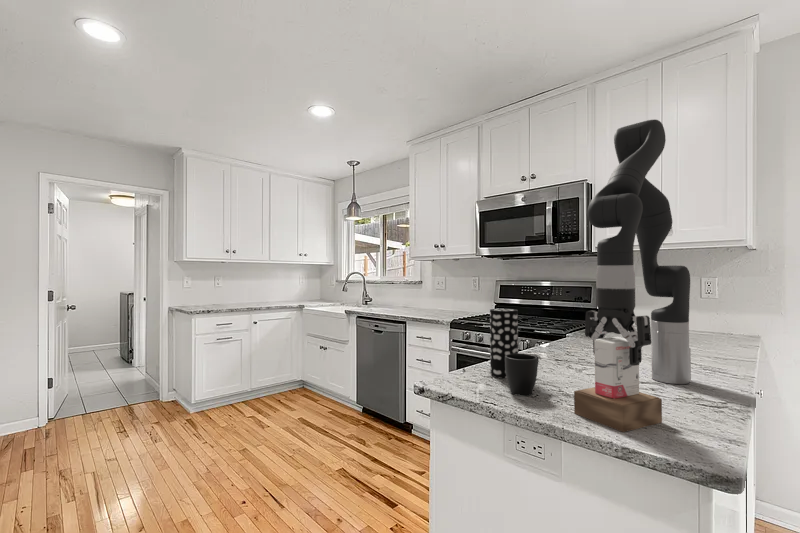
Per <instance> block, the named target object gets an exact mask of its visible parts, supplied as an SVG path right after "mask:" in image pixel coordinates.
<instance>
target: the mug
mask: <svg viewBox="0 0 800 533" xmlns="http://www.w3.org/2000/svg"><path fill="white" fill-rule="evenodd" d="M538 366H539V356H537V354H528V353H518V354H508V355H505V371H506V377H507V379H506V380H507V384H508V387H509V392H510V393H511V394H512V395H515V396H519V397H525V396H531V395H533V394H534V393H533V392H534V388H535V385H536V382H537V376H538V368H539V367H538Z"/></svg>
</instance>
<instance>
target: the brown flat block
mask: <svg viewBox="0 0 800 533" xmlns="http://www.w3.org/2000/svg"><path fill="white" fill-rule="evenodd" d="M573 395H574V396H573V400H574V401H573V402H574V409H573V410H574V413H573V414H575V415H578V416H580V417H583V418H585V419H588V420H590V421H593V422H596V423H598V424H601V425H604V426H606V427H609V428H612V429H614V430H616V431H620V432H622V433H625V432H630V431H634V430H637V429H641V428H645V427H646V428H647V427H651V426H653V425H659V424H662V423H663V406H662V405H663V404H662V402H663V401H662V400H663V399H662V398H661V397H658V396H655V395H651V394H647V393H644V392H641V391H639V394H636V395H631V396H626V397H621V398H616V399H613V398H610V397H606V396H602V395H599V394H596V393H595V386H594V387H589V388H583V389H577V390H574V391H573Z"/></svg>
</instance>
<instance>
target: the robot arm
mask: <svg viewBox="0 0 800 533" xmlns="http://www.w3.org/2000/svg"><path fill="white" fill-rule="evenodd" d="M666 140H667V139H666V131H665V128H664V124H663V123H662V122H661V121H660V120H659V119H648V120H644V121H641V122H640V121H639V122H636V123H633V124H630V125H629V124H628V125H624V126H622V127H620V128H617V129H616V130H615V132H614V136H613V143H614V150H615V154H616V157H617V161H618V163H619V164H618V165H617V166H616V167H615V168H614V169H613V171H612V173H611V175H610V177H609V178H608V179H609V180H608V181H607V184H606V185H604V186H603V187H602V188H601V189H600V190H599V191H598V192H596V194H595V195H594V196H593V197H592V199H591V200H590V201H589V205H588V207H587V214H586V216H587V220H588V221H589V223H590V225H591V226H593V227H594V228H598V229H607V228H609V229H610V228H611V229H612V228H620V230H619V232H618V233H617V234H616V235H613V236H611V237H607V238H603V239H601V240H599V241H598V243H597V246H596V256H597V258H596V263H597V264H596V265H597V267H596V275H595V277H596V278H595V284H596V286H595V288H596V293H595V294H596V298H595V300H596V302H595V303H596V307H597V308H598V310H587V311H586V312H585V322H584V323H585V325H584V336H585V337H587V338H590V339H591V340H592V345H593V346H592V347H593V349H592V351H593V352H592V353H593V355H595V351H594V341H595V340H596V339H601V338H606V336H607V335H608V334H612V333H613V334H616V335H621V337H623V338H625V339H626V340H627V341H628V343H629V345H630V346H631V347H629V356H630V365H634V366H635V365H639V366H640V363H642V360H643V359H642V356H643V354H642V353H643V352H642V349H643V348H642V347H644V346H650V345H651V347H650V348H651V379H653V381H657V382H660V383H667V384H671V385H672V384H673V385H685V384H687V385H688V384H690V382H691V381H692V372H691V371H692V359H691V357H692V356H691V355H692V354H691V353H692V352H691V347H690V297H691V295H690V293H691V274H690V270H689V269H688V267H687V266H685V265H659V264H658V254H659V250H660V248H661V247H662V245H663V244H664V243H665V242H664V241H665V240H666V239H667V237H668V235H669V233H670V231H671V229H672V227H673V226H672V225H673V216H672V212H671V210H672V209H671V206H670V205H671V204H670V200H668V197H667V196H666V195H665V194H664V193H663V192H662V191H661V190H660V189H659V188H657V187H656V186H655V185H654V184H653V183H652V182H651V181H650V180H648V179H647V178H646V177H647V175H648V173H649V172H650V170H651V169H652V168H653V166H654V164H655V163H656V162H657V160H658V159H659V157H660V156H661V154H662V153H663V151H664V149H665V146H666ZM635 238H636V239H637V242H638V243H637V244H638V248H639V253H640V259H641V268H642V279H643V283H644V289H645V291H646V293H647V294H648V295H649V296H651V297H657V298H672V302H671V303H670V304H668V305H666V306H664V307H661V308H657V309H653V310H651V313H650V316H649V315H637V316H636V315H635V312H634V310H635V308H636V275H635V268H634V245H635ZM598 321H599V322H598ZM634 325H635V326H636V328H635V326H634Z"/></svg>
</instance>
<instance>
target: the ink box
mask: <svg viewBox="0 0 800 533" xmlns="http://www.w3.org/2000/svg"><path fill="white" fill-rule="evenodd" d="M629 347H631V346H630V345H629V343H628V341H627V340H626V339H625V338H623V336H613V337H604V338H601V339H596V340H595V341H594V351H595V354H594V387H595V393H596V394H599V395H602V396H606V397H610V398H613V399H616V398H621V397H626V396H631V395H636V394H639V392H640V364H639V365H635V366H634V365H630V356H629Z"/></svg>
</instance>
